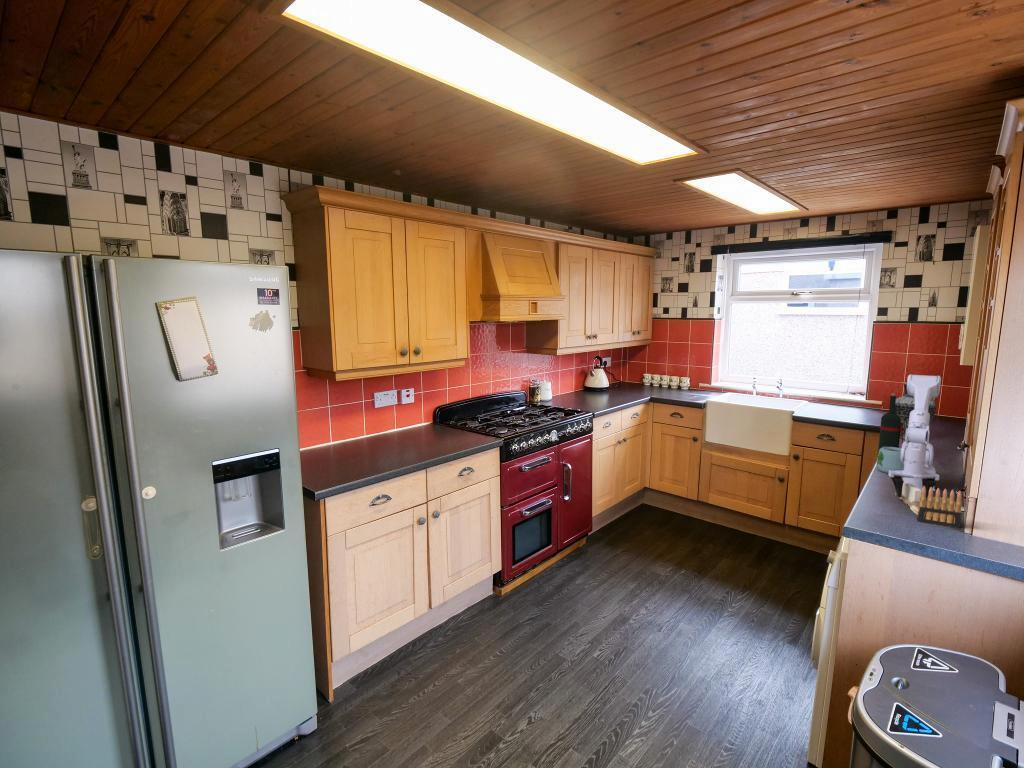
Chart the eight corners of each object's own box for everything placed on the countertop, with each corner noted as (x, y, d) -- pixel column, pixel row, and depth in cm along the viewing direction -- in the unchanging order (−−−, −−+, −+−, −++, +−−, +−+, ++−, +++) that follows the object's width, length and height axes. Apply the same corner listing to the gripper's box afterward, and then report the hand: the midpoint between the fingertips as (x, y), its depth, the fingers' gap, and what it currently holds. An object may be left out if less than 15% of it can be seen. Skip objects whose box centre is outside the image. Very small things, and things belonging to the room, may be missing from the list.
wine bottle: (903, 459, 236) (909, 395, 231) (876, 455, 242) (881, 393, 238) (905, 456, 241) (911, 393, 237) (879, 452, 248) (884, 391, 244)
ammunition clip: (959, 526, 163) (963, 490, 161) (960, 528, 161) (964, 491, 160) (916, 519, 169) (920, 484, 167) (917, 521, 167) (921, 486, 165)
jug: (897, 442, 267) (903, 385, 263) (880, 433, 286) (884, 380, 282) (943, 443, 263) (949, 385, 259) (922, 435, 281) (928, 380, 277)
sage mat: (948, 499, 186) (948, 497, 186) (968, 512, 174) (968, 511, 173) (915, 496, 189) (916, 495, 189) (932, 509, 177) (933, 508, 176)
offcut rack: (912, 496, 190) (912, 488, 189) (939, 517, 170) (940, 508, 170) (893, 494, 191) (893, 487, 191) (917, 515, 172) (918, 506, 172)
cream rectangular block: (908, 497, 188) (909, 482, 187) (920, 507, 179) (922, 491, 178) (901, 497, 189) (903, 481, 188) (913, 507, 179) (915, 490, 179)
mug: (866, 464, 229) (868, 443, 227) (894, 465, 227) (896, 444, 225) (884, 475, 214) (886, 452, 213) (913, 476, 212) (916, 453, 211)
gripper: (895, 462, 180) (892, 499, 182) (945, 465, 176) (941, 503, 178) (887, 457, 187) (884, 492, 189) (935, 459, 183) (931, 496, 184)
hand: (911, 497), depth 184 cm, fingers open, 7 cm apart
